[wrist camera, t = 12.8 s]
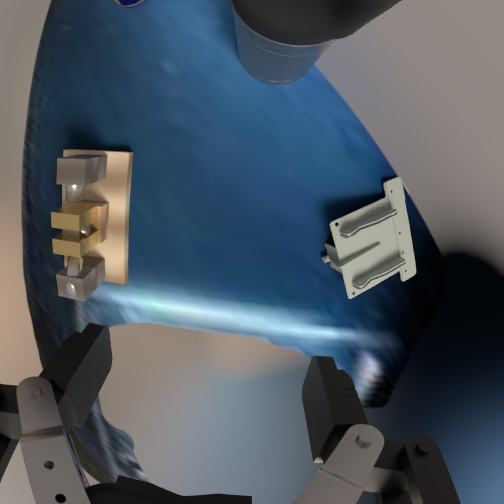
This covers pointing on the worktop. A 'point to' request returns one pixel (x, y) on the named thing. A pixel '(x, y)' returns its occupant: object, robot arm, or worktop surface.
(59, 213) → the slotted brass block
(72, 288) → the shafts
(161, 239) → the worktop surface
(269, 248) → the worktop surface
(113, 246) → the coupling base
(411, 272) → the metal bracket
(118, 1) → the energy drink
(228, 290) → the worktop surface
